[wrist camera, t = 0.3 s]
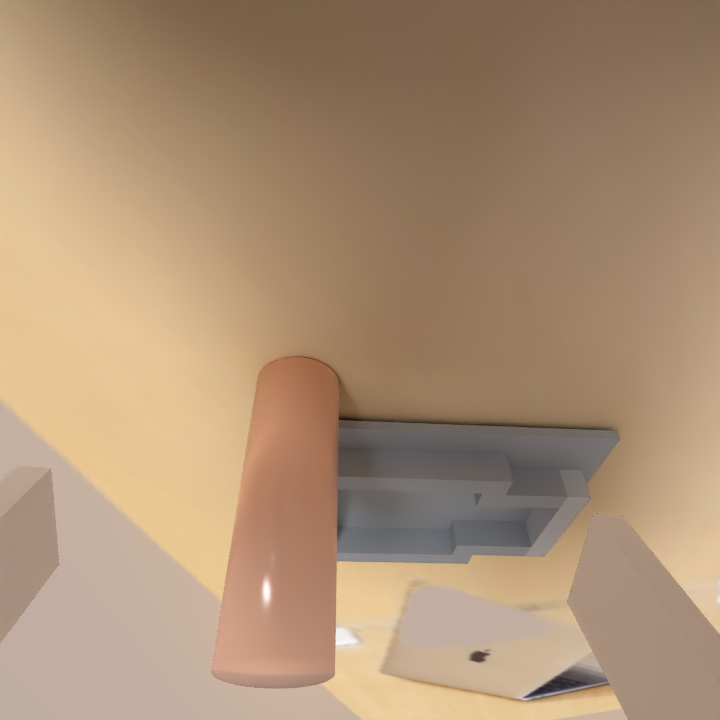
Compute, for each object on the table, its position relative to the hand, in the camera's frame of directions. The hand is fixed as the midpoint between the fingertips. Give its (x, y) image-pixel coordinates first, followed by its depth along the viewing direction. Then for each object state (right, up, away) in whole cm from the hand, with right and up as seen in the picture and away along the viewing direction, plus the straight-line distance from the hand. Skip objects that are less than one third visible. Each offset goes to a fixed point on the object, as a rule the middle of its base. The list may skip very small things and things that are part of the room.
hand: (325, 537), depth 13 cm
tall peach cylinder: (-3, +3, +16) cm, 17 cm away
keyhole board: (+6, -5, +25) cm, 26 cm away
